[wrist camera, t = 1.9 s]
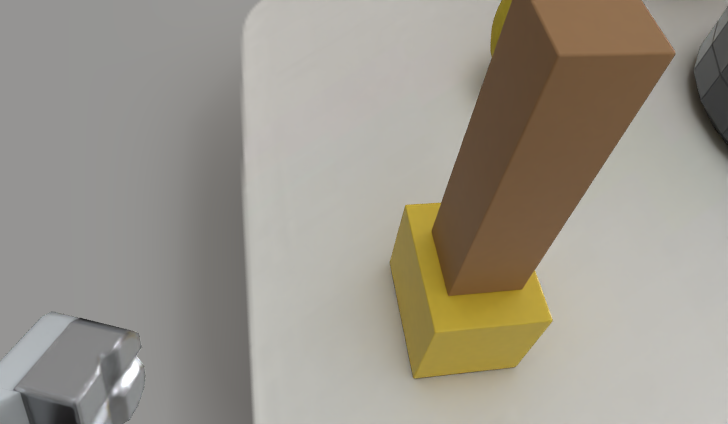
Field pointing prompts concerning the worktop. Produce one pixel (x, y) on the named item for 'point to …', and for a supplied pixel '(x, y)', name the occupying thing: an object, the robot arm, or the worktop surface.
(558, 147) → the sponge wand
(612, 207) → the worktop surface
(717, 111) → the bowl
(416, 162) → the worktop surface
